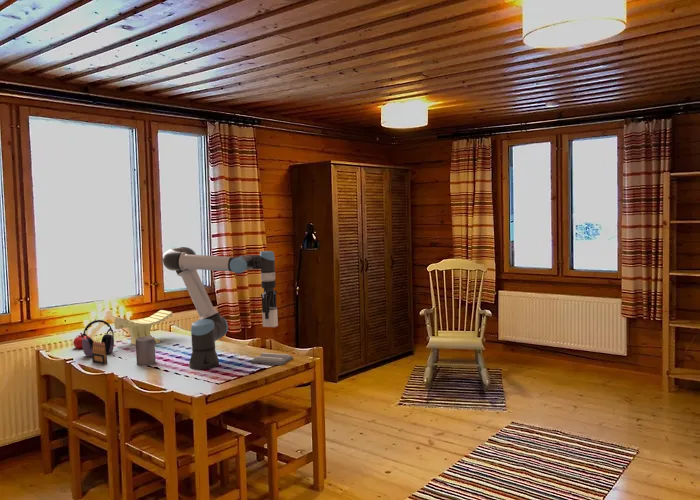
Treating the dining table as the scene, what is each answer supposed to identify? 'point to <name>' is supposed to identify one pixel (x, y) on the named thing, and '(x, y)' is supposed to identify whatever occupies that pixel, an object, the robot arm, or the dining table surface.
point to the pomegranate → (79, 341)
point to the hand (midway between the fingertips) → (270, 323)
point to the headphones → (107, 339)
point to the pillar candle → (145, 350)
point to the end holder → (272, 358)
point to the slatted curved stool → (142, 325)
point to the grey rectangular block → (271, 317)
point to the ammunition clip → (99, 353)
